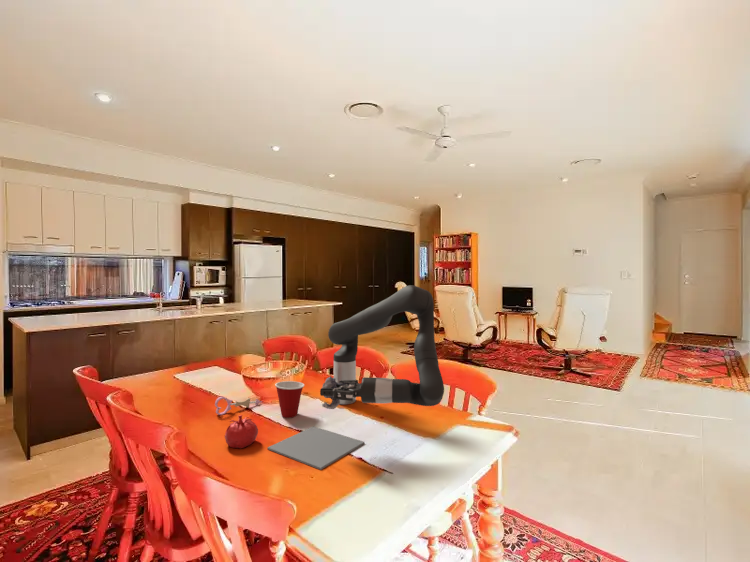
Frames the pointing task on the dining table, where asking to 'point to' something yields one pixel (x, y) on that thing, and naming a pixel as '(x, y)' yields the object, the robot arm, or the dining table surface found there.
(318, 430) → the mat
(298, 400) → the plastic cup
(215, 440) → the dining table surface
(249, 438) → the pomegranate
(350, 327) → the robot arm
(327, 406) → the grey tall lumpy piece
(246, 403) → the decorative key
